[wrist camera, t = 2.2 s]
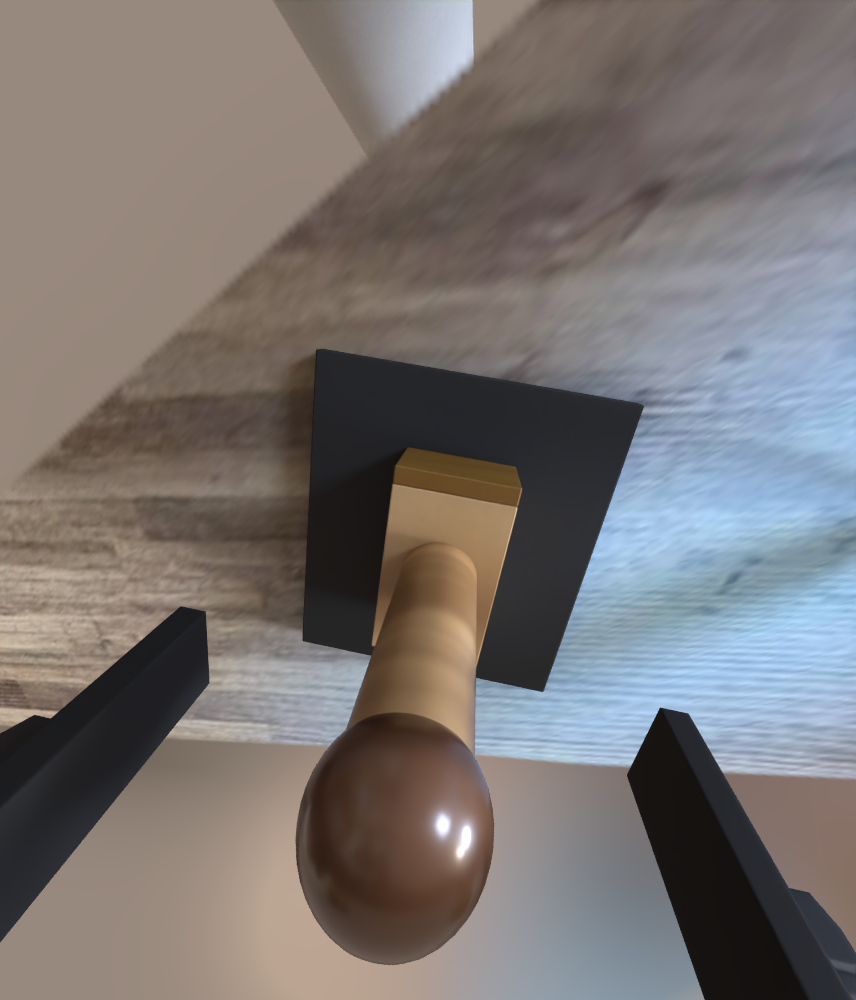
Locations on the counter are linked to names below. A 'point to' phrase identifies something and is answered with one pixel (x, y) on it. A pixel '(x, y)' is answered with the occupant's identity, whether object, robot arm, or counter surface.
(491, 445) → the mat
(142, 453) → the counter surface
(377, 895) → the stamp
